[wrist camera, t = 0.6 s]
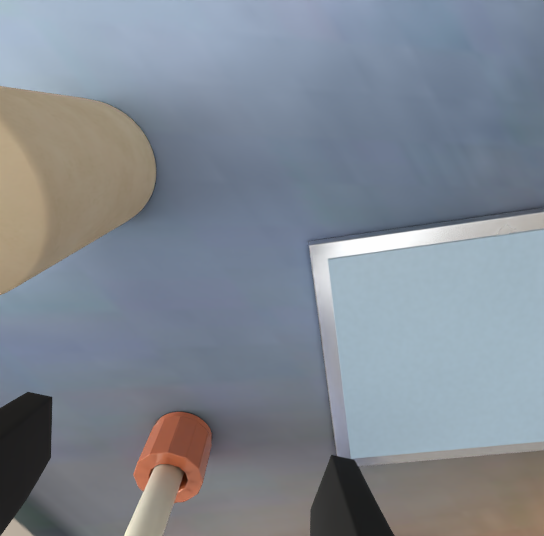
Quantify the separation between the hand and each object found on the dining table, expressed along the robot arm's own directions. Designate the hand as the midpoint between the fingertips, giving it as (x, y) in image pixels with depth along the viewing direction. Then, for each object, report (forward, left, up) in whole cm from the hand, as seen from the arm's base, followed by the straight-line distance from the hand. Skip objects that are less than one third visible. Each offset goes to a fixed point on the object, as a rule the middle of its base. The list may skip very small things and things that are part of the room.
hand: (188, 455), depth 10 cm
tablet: (-5, -15, -10) cm, 19 cm away
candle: (+7, +5, -10) cm, 14 cm away
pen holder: (-9, +5, -10) cm, 14 cm away
